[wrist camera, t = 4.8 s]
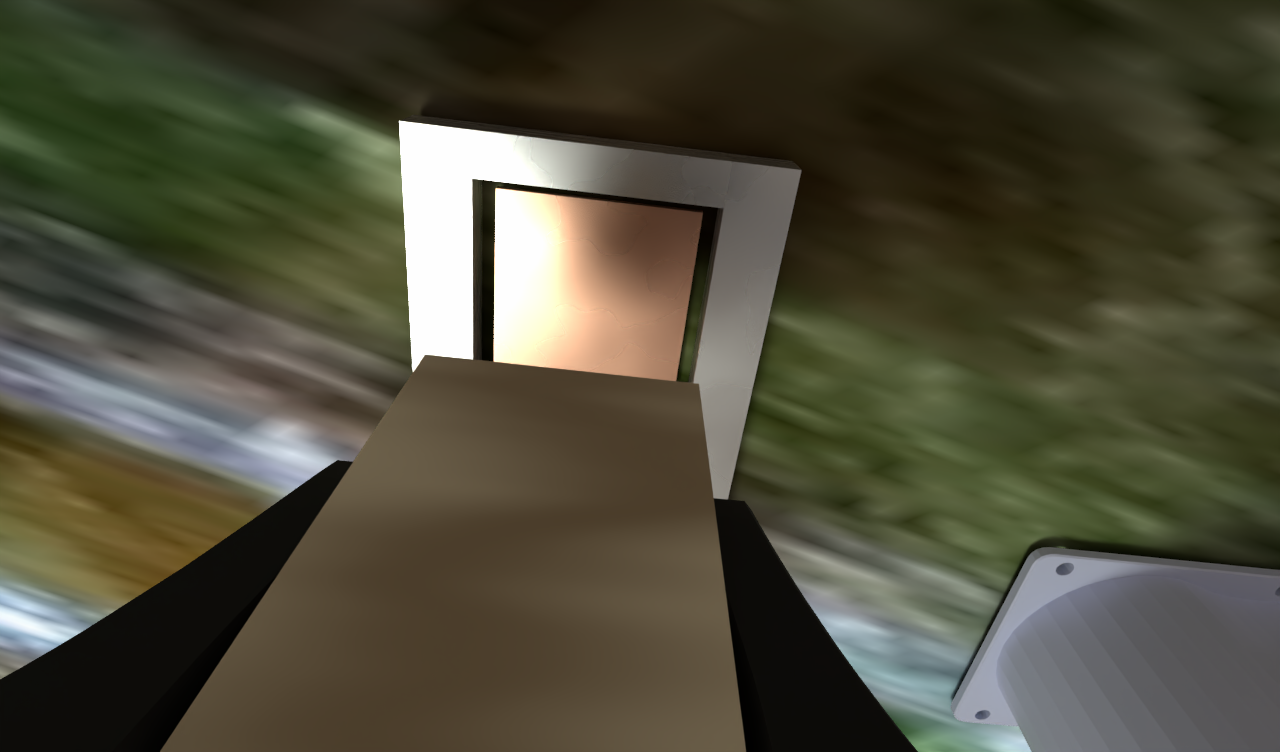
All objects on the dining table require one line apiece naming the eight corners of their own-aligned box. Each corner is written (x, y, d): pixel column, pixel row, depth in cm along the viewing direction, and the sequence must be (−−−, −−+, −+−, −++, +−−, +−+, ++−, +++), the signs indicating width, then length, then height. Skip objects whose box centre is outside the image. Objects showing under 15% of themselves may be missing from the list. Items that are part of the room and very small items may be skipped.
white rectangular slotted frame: (793, 161, 15) (801, 170, 14) (670, 726, 25) (670, 753, 24) (414, 114, 15) (399, 121, 14) (440, 706, 24) (432, 732, 24)
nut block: (699, 383, 10) (754, 812, 5) (663, 581, 12) (673, 1046, 6) (425, 354, 10) (151, 764, 4) (434, 559, 12) (251, 1017, 6)
